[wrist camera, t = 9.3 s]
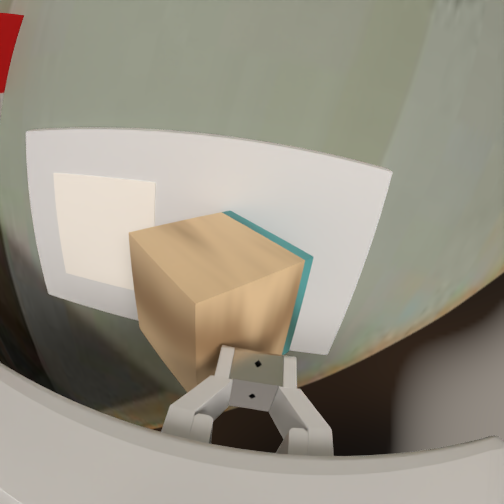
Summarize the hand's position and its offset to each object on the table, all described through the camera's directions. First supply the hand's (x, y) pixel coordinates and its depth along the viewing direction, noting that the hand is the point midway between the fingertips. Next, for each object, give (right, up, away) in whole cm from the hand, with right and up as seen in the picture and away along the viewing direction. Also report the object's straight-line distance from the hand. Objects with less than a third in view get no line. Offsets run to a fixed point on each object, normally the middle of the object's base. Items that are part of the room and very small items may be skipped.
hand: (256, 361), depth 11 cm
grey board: (-5, +5, +8) cm, 11 cm away
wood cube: (0, +3, +5) cm, 6 cm away
